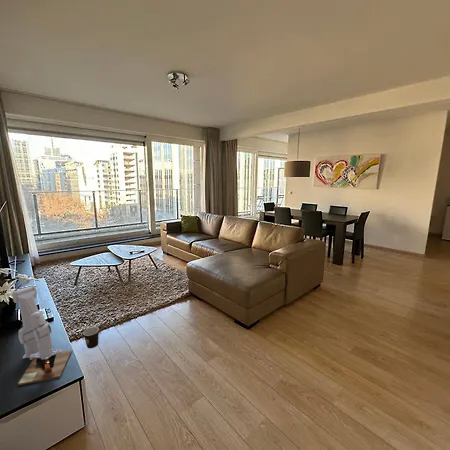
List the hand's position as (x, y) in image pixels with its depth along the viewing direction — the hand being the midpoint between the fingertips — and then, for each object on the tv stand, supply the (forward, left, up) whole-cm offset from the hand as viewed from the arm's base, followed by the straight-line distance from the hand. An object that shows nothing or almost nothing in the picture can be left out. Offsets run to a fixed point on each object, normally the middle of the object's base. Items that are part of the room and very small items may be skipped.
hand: (48, 367), depth 133 cm
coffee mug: (-19, +17, -4) cm, 26 cm away
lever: (-5, -2, -2) cm, 6 cm away
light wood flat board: (-5, -3, -3) cm, 6 cm away
